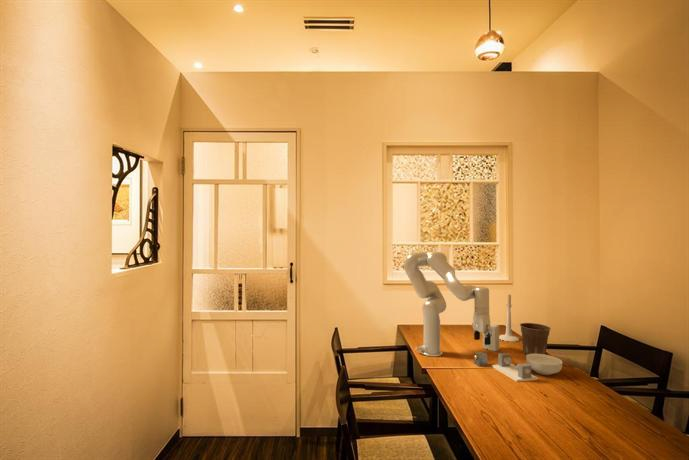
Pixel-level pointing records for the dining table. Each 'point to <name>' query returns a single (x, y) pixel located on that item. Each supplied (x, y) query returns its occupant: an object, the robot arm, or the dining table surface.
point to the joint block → (480, 359)
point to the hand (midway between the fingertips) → (482, 342)
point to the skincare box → (493, 339)
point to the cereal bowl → (544, 363)
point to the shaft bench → (513, 369)
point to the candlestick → (508, 325)
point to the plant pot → (534, 338)
